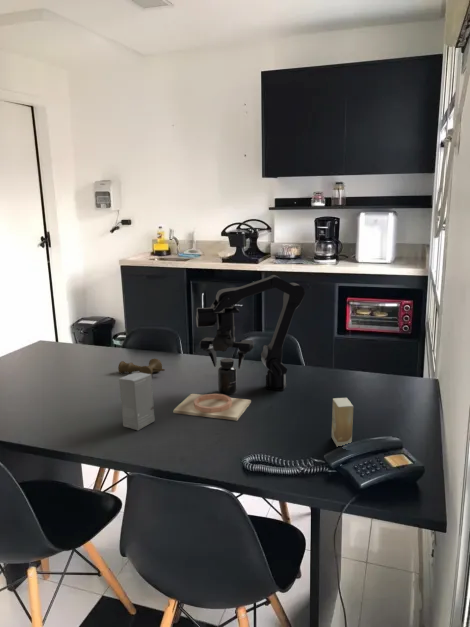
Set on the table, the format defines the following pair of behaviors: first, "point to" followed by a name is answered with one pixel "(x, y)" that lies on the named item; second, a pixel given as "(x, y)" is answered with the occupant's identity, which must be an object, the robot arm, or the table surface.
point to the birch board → (230, 414)
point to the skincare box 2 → (342, 421)
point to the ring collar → (212, 409)
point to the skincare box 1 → (137, 400)
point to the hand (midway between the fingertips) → (227, 367)
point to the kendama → (141, 367)
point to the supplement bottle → (227, 377)
